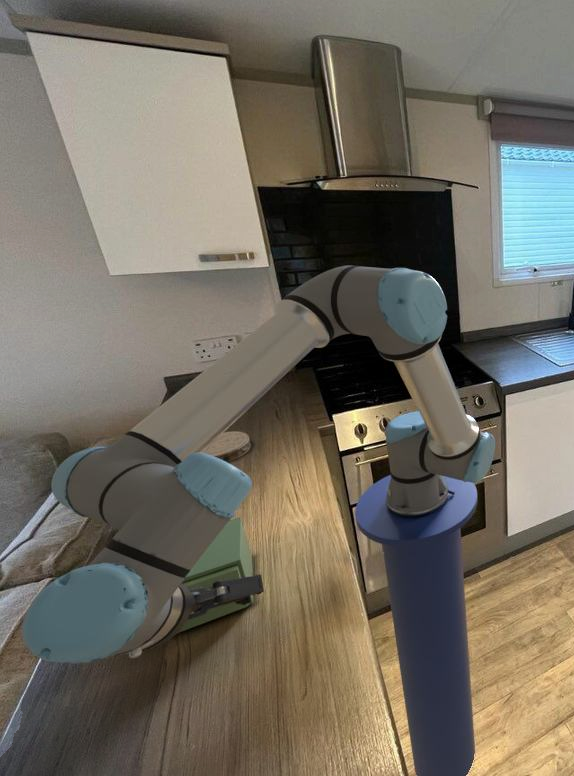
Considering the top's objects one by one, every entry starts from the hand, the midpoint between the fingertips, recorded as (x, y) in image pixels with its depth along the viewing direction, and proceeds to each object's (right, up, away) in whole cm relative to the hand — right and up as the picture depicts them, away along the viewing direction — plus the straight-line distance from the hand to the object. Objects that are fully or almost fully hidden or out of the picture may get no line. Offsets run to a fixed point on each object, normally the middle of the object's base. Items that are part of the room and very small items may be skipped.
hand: (190, 614), depth 66 cm
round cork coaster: (-45, +12, +67) cm, 81 cm away
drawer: (-7, -6, +15) cm, 18 cm away
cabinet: (-10, -6, +19) cm, 22 cm away
